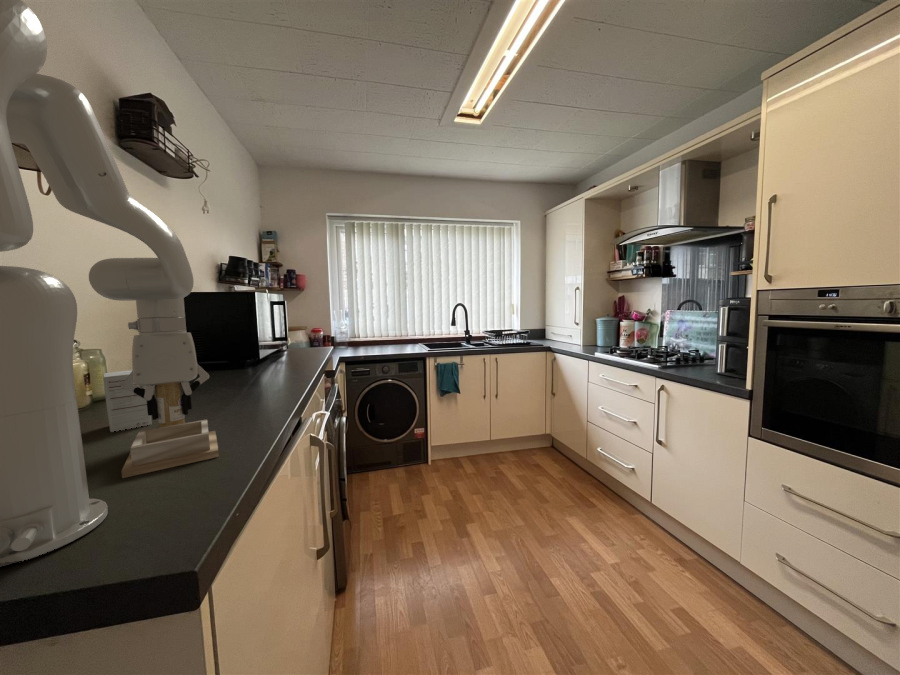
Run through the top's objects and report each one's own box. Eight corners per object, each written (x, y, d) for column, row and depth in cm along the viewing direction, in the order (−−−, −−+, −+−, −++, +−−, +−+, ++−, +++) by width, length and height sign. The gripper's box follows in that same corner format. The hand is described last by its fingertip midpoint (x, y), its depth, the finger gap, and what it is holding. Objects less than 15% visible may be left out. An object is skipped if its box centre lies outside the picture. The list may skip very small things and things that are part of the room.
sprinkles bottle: (185, 436, 74) (180, 371, 73) (157, 441, 71) (150, 373, 70) (187, 430, 77) (181, 368, 77) (160, 435, 75) (154, 371, 74)
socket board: (218, 456, 65) (216, 433, 64) (122, 478, 57) (119, 452, 57) (215, 436, 75) (214, 416, 75) (133, 452, 68) (131, 430, 68)
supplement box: (109, 425, 85) (103, 372, 84) (150, 418, 90) (144, 368, 89) (108, 433, 79) (102, 376, 78) (152, 425, 84) (146, 371, 83)
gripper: (101, 329, 65) (111, 429, 66) (213, 325, 74) (220, 412, 76) (110, 328, 71) (119, 420, 72) (212, 324, 81) (218, 405, 82)
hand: (171, 414), depth 74 cm, fingers closed on sprinkles bottle, 4 cm apart
